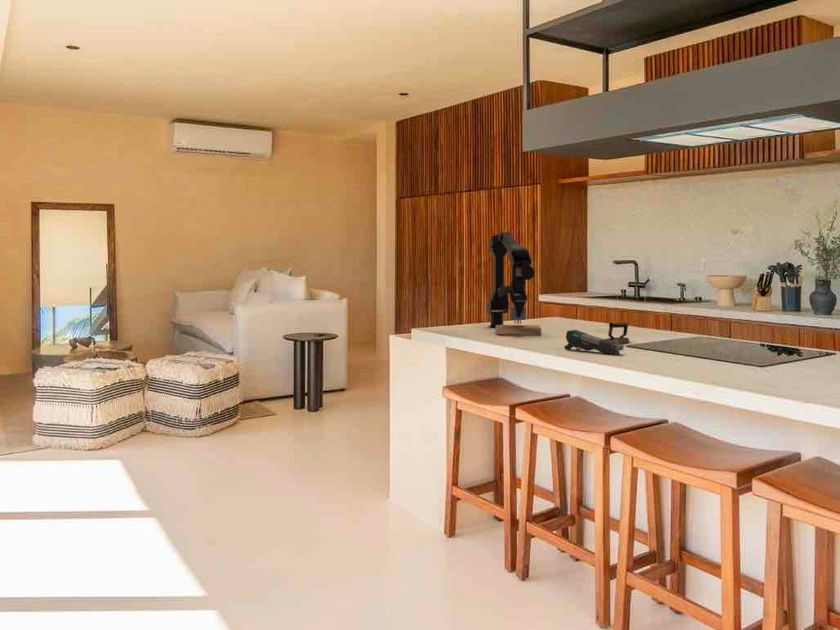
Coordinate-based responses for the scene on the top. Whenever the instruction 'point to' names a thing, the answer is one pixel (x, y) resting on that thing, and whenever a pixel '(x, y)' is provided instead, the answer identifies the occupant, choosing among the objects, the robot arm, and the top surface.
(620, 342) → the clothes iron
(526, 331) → the socket box
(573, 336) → the gun
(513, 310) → the dark grey block
